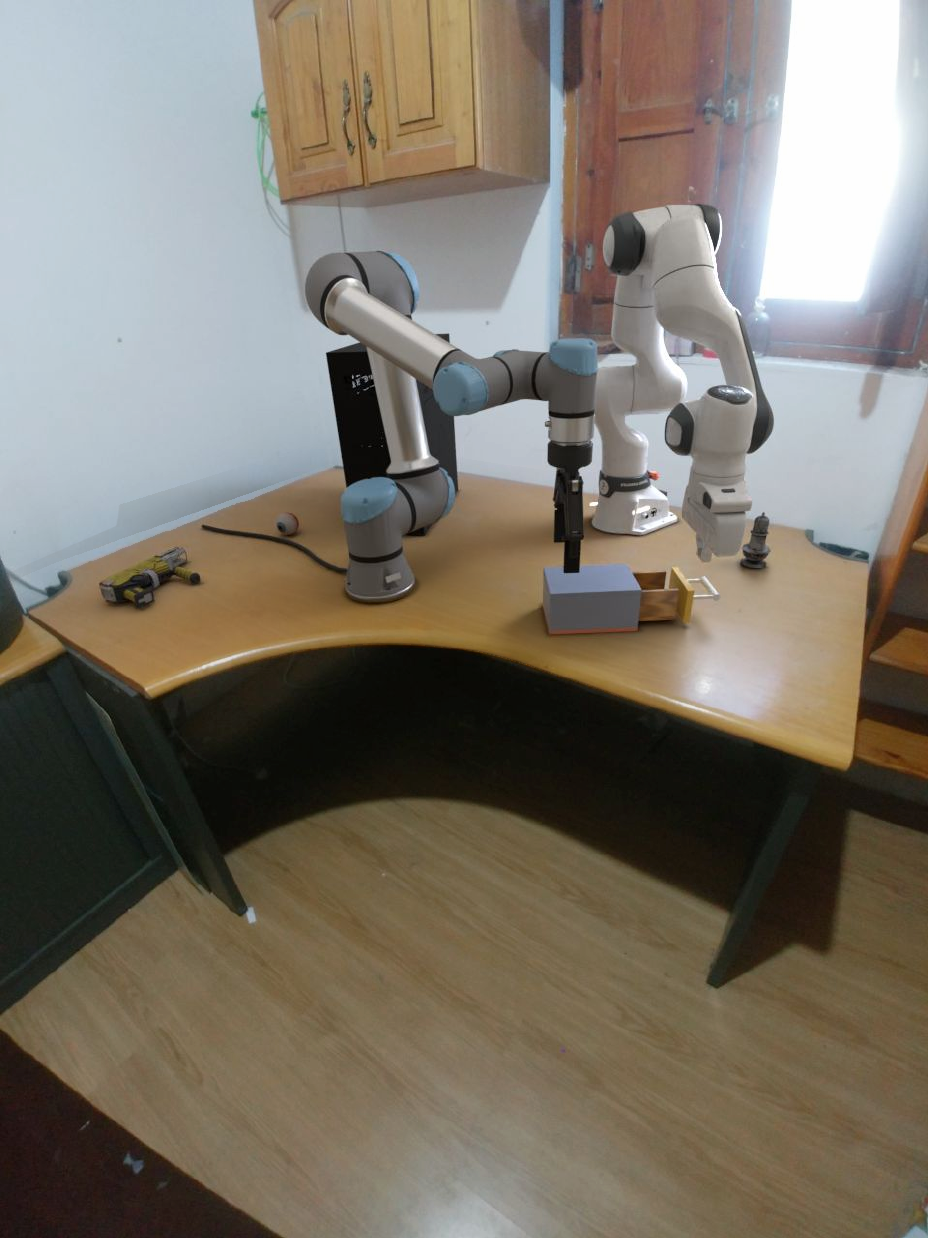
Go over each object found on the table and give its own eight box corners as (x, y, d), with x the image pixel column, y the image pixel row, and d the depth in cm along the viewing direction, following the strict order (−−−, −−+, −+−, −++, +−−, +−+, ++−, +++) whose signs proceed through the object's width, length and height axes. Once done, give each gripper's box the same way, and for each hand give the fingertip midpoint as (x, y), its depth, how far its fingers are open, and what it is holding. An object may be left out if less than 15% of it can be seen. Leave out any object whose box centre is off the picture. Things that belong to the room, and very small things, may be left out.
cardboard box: (424, 535, 159) (408, 350, 137) (353, 532, 164) (325, 352, 141) (458, 489, 191) (449, 333, 168) (397, 488, 195) (380, 335, 173)
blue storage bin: (623, 601, 123) (627, 563, 119) (637, 630, 113) (641, 589, 109) (542, 605, 123) (543, 567, 119) (549, 634, 114) (550, 593, 109)
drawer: (700, 596, 122) (705, 565, 118) (719, 621, 113) (725, 589, 109) (597, 600, 122) (599, 570, 119) (607, 626, 113) (610, 594, 110)
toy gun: (223, 554, 147) (173, 544, 151) (148, 595, 127) (92, 582, 131) (226, 572, 149) (177, 561, 153) (152, 615, 129) (97, 601, 133)
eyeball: (273, 537, 164) (268, 516, 161) (287, 528, 169) (282, 508, 166) (291, 539, 161) (286, 518, 158) (305, 530, 166) (301, 510, 163)
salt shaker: (770, 569, 132) (782, 517, 126) (741, 568, 133) (751, 516, 127) (764, 558, 137) (775, 507, 131) (736, 557, 138) (746, 507, 132)
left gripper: (539, 424, 112) (538, 531, 123) (557, 462, 90) (554, 587, 101) (580, 422, 112) (575, 530, 122) (607, 459, 90) (598, 586, 101)
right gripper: (678, 470, 114) (669, 538, 121) (717, 506, 96) (704, 584, 103) (712, 468, 114) (701, 536, 121) (757, 504, 96) (741, 582, 103)
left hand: (565, 556), depth 112 cm, fingers open, 13 cm apart
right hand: (703, 559), depth 112 cm, fingers closed
